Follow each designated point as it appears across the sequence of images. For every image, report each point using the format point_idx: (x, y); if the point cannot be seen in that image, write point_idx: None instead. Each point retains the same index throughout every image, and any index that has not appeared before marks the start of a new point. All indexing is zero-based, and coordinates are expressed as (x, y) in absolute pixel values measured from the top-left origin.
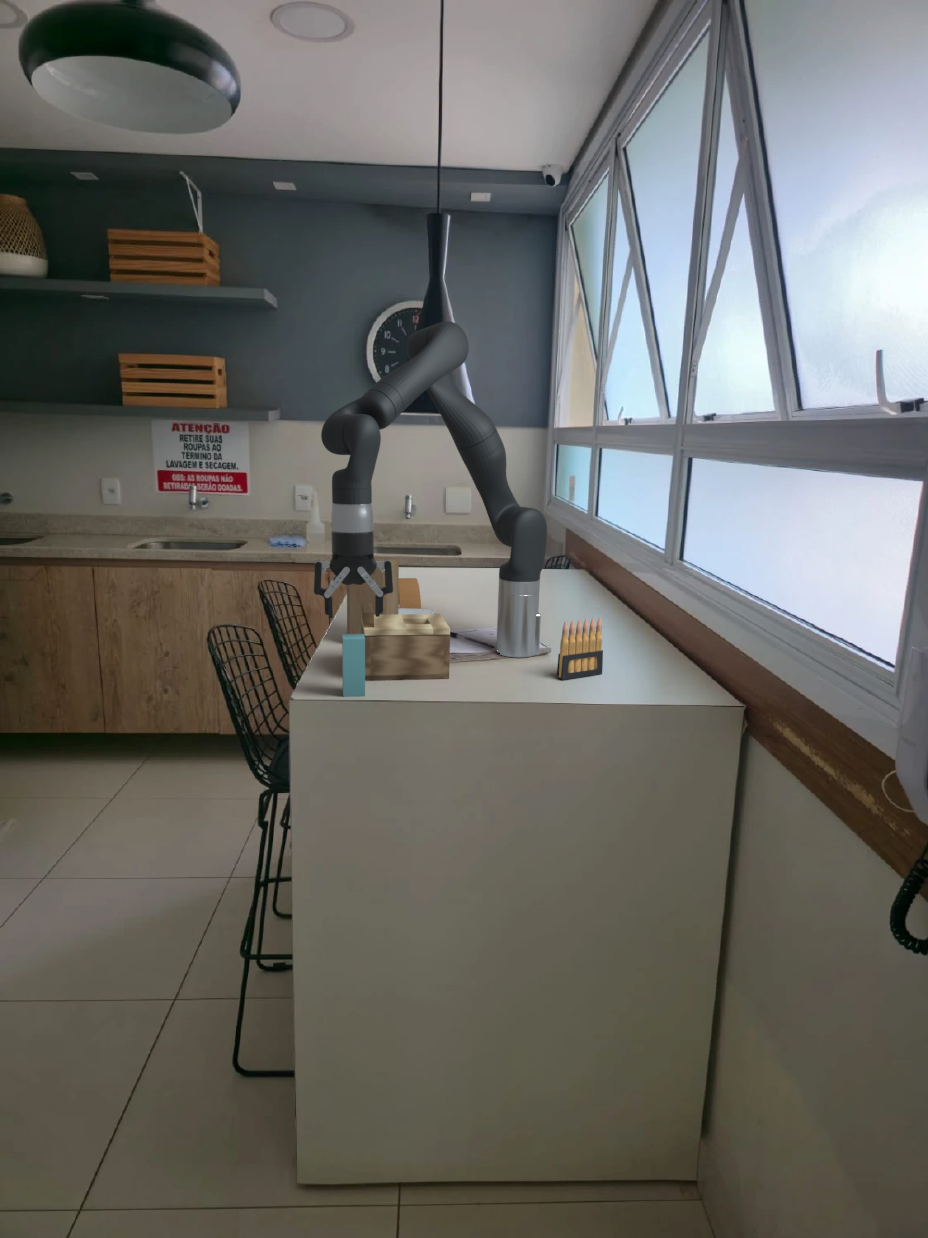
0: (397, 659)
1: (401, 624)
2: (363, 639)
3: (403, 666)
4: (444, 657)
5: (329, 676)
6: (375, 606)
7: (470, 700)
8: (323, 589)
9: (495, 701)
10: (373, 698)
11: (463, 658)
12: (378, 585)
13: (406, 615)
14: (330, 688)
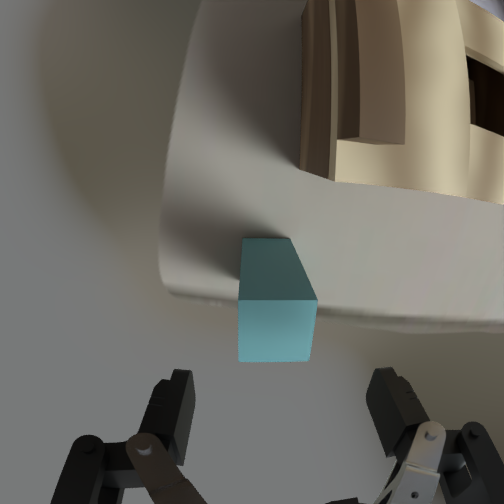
0: None
1: (461, 123)
2: (304, 360)
3: None
4: None
5: (214, 121)
6: (380, 415)
7: (446, 314)
8: (132, 487)
9: (469, 318)
10: None
11: None
12: (438, 460)
13: (468, 11)
14: (215, 220)
